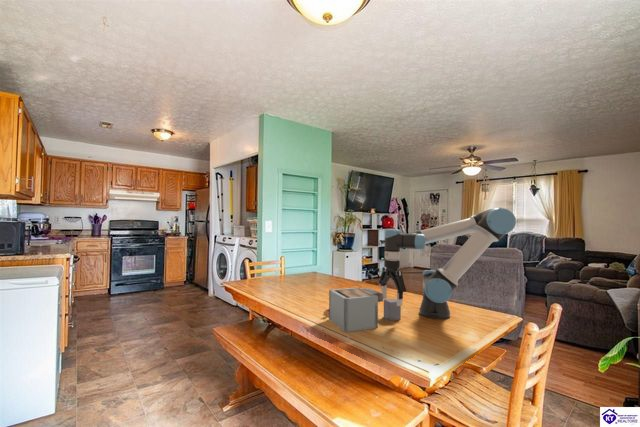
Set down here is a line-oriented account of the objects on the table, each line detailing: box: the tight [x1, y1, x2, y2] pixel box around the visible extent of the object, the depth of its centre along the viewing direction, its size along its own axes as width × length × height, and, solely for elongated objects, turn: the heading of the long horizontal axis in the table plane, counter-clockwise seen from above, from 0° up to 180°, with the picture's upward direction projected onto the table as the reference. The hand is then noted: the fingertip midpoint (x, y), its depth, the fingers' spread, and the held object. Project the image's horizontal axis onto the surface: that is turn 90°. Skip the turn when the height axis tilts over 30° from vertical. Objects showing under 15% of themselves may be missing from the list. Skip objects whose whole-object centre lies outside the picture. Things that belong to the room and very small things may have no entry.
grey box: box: [328, 287, 379, 333], centre depth 143 cm, size 16×18×14 cm
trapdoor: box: [338, 287, 384, 303], centre depth 144 cm, size 18×14×4 cm
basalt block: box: [383, 298, 402, 322], centre depth 151 cm, size 6×6×9 cm
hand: (391, 301), depth 151 cm, fingers open, 13 cm apart
